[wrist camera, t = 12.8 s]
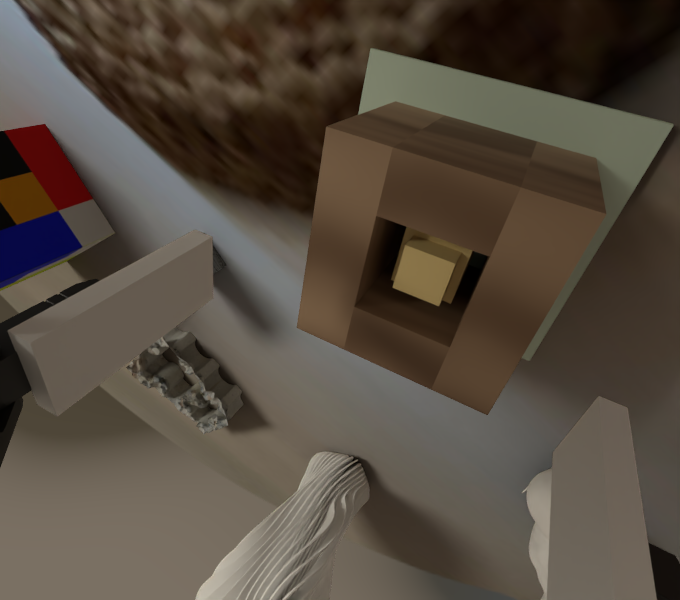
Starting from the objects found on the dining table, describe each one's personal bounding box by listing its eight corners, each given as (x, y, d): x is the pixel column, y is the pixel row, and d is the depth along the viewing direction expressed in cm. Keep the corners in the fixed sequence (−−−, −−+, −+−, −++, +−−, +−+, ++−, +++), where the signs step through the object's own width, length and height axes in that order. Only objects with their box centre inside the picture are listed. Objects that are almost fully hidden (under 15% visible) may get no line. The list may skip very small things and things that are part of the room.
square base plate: (373, 48, 22) (299, 52, 16) (672, 123, 18) (719, 165, 12) (330, 274, 30) (271, 333, 24) (530, 357, 26) (517, 449, 20)
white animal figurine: (546, 686, 27) (484, 542, 25) (555, 568, 34) (506, 445, 32) (666, 720, 24) (607, 555, 21) (649, 579, 31) (603, 442, 28)
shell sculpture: (295, 429, 41) (151, 632, 27) (373, 441, 37) (250, 687, 23) (319, 490, 44) (202, 698, 30) (393, 506, 40) (297, 756, 26)
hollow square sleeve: (395, 101, 22) (326, 126, 16) (596, 157, 20) (606, 214, 13) (357, 263, 28) (296, 327, 22) (508, 323, 25) (487, 415, 19)
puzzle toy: (116, 232, 38) (0, 282, 30) (67, 261, 44) (-41, 309, 36) (45, 123, 35) (-103, 148, 27) (3, 169, 41) (-130, 200, 33)
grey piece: (152, 341, 45) (120, 364, 41) (187, 316, 40) (153, 340, 37) (215, 417, 46) (189, 445, 43) (255, 402, 42) (229, 432, 39)
